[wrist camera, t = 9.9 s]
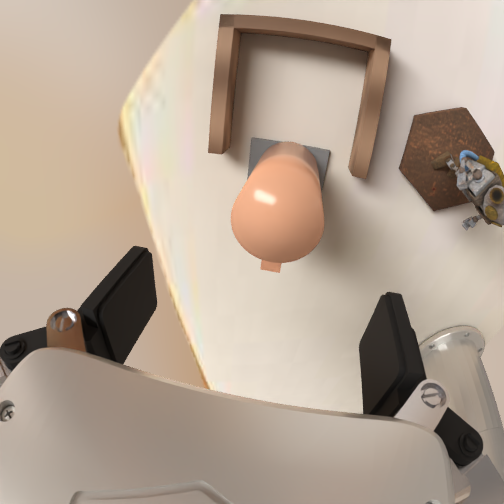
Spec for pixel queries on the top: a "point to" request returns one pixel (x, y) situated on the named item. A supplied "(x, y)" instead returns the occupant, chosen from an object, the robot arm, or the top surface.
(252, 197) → the peach rounded cylinder
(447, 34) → the top surface
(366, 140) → the frame
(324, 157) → the mat
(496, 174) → the robot figurine
